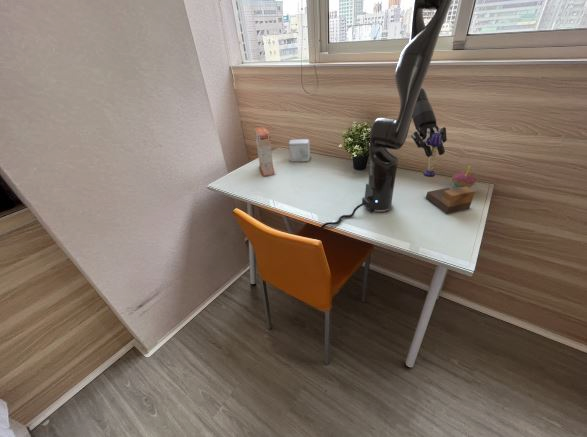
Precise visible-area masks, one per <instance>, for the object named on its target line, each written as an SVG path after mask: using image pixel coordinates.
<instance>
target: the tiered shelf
mask: <svg viewBox="0 0 587 437" xmlns="http://www.w3.org/2000/svg"><path fill="white" fill-rule="evenodd" d="M475 194H476V190H474V189H473V188H471V187H470V188H469V187H467V186H466V187H461V188H456V189H454V188H452V189H451V188H450V187H444V188H438V189H434V190H429V191H426V195H425V200H427V201H429V202H430V203H431V204H432V205H433V206H436V207H437V208H438V209H439V210H441V211H442V212H444V213H445V214H446V215H448V214H452V213H457V212H462V211H466V210H470V208H471V205H472V202H473V200H474V197H475Z"/></svg>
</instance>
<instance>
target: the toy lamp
mask: <svg viewBox="0 0 587 437" xmlns="http://www.w3.org/2000/svg"><path fill="white" fill-rule="evenodd" d="M441 145H442V135H441V134H440V133H434V134H432V136H431V138H430V140H429V146H430V147H431V151H432V156H430V157H429V160H428V167H427V169H426V170H424V172H423V176H424V177H427V178H433V177H435V175H436V174H435V173H436V172H435V171H434V170H433V169H434V168H433V167H434V164H435V160H436V154H437V152H438V150H437V146H441Z"/></svg>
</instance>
